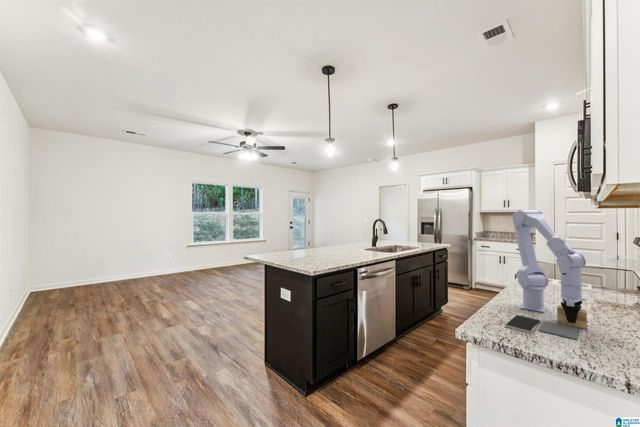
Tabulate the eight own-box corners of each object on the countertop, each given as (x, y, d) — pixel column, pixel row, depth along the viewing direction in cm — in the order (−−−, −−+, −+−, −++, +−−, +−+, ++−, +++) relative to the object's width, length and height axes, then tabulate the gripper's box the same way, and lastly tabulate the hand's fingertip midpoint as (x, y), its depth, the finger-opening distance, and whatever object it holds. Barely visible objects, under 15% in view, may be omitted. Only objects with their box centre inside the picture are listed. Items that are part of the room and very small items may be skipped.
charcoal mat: (543, 321, 104) (543, 320, 104) (578, 328, 97) (578, 327, 97) (538, 331, 96) (538, 329, 96) (577, 340, 88) (577, 338, 88)
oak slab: (558, 320, 105) (558, 305, 105) (587, 325, 99) (586, 309, 100) (557, 323, 102) (557, 307, 103) (586, 329, 97) (586, 312, 97)
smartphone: (541, 320, 104) (531, 331, 94) (541, 323, 104) (531, 334, 94) (516, 314, 110) (505, 324, 100) (516, 317, 110) (505, 327, 100)
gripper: (585, 290, 93) (586, 329, 93) (586, 283, 103) (587, 317, 103) (558, 287, 98) (559, 323, 98) (562, 280, 108) (562, 313, 108)
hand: (572, 320), depth 101 cm, fingers open, 5 cm apart
